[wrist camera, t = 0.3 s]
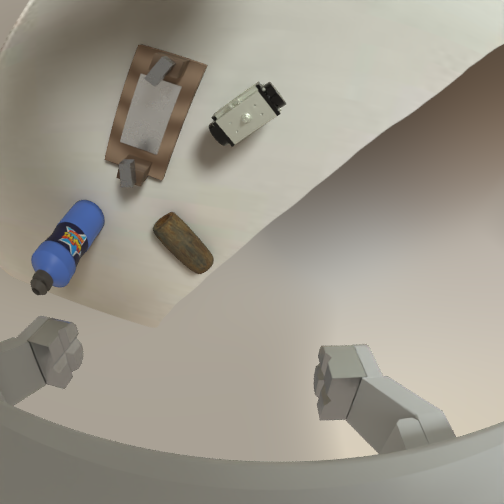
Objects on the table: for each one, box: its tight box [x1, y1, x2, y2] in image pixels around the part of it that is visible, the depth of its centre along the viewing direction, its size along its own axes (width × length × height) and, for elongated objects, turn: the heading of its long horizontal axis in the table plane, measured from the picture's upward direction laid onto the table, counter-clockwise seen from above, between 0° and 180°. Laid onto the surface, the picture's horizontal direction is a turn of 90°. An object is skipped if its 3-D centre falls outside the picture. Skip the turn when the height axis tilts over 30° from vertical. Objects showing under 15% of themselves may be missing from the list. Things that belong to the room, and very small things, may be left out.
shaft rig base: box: [105, 45, 208, 186], centre depth 49 cm, size 24×13×6 cm, turn 155°
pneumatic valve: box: [209, 82, 286, 147], centre depth 46 cm, size 6×12×12 cm, turn 127°
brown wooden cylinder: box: [153, 212, 214, 274], centre depth 66 cm, size 15×7×7 cm, turn 36°
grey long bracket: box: [119, 56, 182, 187], centre depth 47 cm, size 24×8×7 cm, turn 155°
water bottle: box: [31, 200, 104, 295], centre depth 56 cm, size 9×9×25 cm
